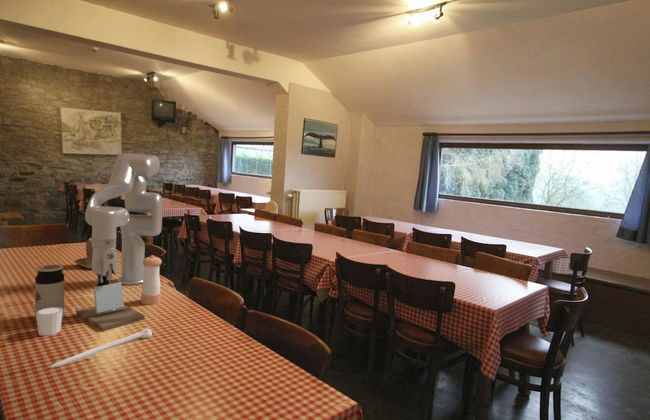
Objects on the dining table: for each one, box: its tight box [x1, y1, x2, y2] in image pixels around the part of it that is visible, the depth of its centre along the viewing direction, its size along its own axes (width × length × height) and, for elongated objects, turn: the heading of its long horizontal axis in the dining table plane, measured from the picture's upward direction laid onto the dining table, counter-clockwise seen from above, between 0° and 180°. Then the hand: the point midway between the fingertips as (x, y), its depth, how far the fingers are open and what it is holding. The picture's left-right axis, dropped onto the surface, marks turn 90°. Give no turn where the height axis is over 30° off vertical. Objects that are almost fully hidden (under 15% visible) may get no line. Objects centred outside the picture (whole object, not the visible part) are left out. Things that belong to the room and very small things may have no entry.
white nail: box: [49, 327, 153, 369], centre depth 107 cm, size 28×4×3 cm, turn 148°
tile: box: [93, 282, 125, 316], centre depth 130 cm, size 10×9×1 cm
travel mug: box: [34, 264, 65, 321], centre depth 125 cm, size 8×8×18 cm
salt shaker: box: [140, 255, 163, 305], centre depth 146 cm, size 7×7×19 cm
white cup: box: [36, 307, 63, 337], centre depth 115 cm, size 7×7×7 cm
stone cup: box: [74, 237, 93, 269], centre depth 189 cm, size 15×12×15 cm
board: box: [75, 304, 145, 332], centre depth 130 cm, size 20×14×2 cm
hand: (103, 292), depth 132 cm, fingers closed
